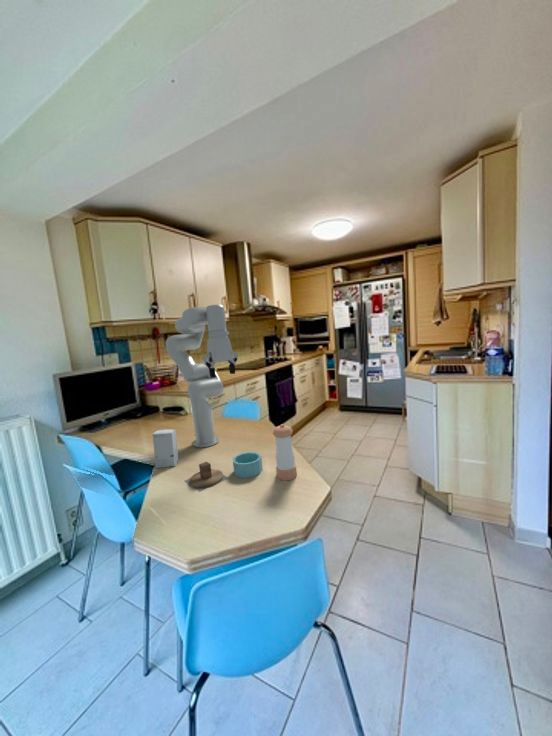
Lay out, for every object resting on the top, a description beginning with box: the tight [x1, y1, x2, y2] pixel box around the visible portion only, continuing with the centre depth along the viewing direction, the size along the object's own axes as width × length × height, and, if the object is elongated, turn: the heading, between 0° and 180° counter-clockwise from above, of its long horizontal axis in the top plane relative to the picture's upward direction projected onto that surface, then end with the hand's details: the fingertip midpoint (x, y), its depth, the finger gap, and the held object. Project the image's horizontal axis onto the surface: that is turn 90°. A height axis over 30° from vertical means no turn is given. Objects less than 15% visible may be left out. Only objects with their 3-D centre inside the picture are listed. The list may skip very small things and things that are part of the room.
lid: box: [189, 461, 224, 488], centre depth 112 cm, size 12×12×6 cm
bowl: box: [232, 451, 264, 479], centre depth 116 cm, size 11×11×6 cm
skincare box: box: [152, 428, 179, 469], centre depth 129 cm, size 8×6×15 cm
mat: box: [184, 474, 230, 493], centre depth 112 cm, size 12×12×1 cm
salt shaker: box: [272, 423, 298, 481], centre depth 109 cm, size 7×7×19 cm
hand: (223, 375), depth 129 cm, fingers open, 9 cm apart
